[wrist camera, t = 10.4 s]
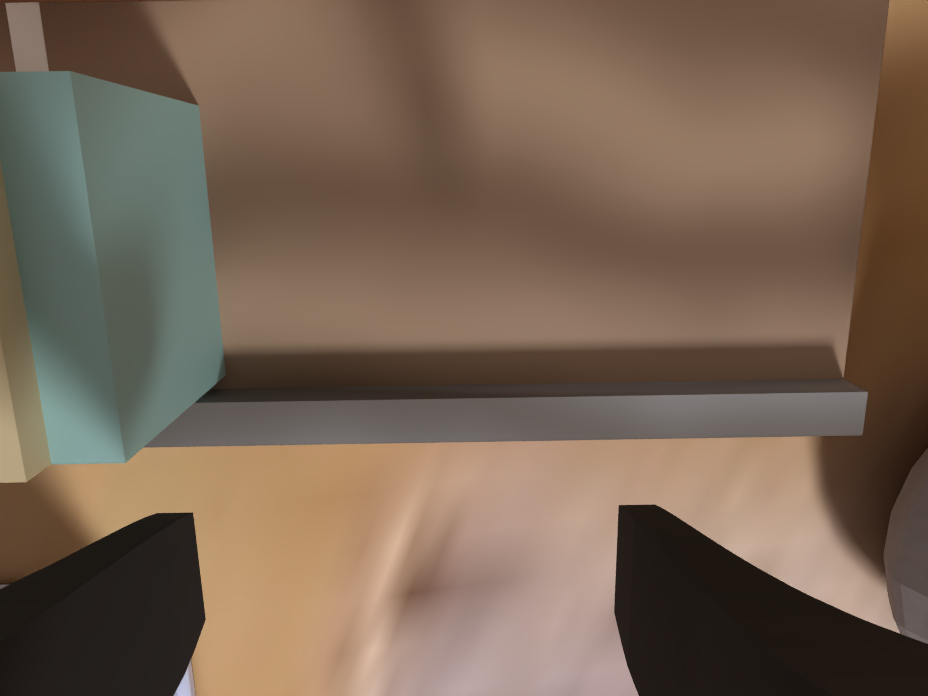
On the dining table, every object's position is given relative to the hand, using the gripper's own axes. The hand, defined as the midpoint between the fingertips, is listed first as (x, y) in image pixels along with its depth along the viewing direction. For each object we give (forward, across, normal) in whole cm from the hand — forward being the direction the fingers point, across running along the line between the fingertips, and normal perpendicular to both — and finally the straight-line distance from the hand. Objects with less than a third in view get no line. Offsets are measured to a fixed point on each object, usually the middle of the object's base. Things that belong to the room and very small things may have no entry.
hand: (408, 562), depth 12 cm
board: (+9, 0, -5) cm, 11 cm away
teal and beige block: (+8, +8, -5) cm, 12 cm away
